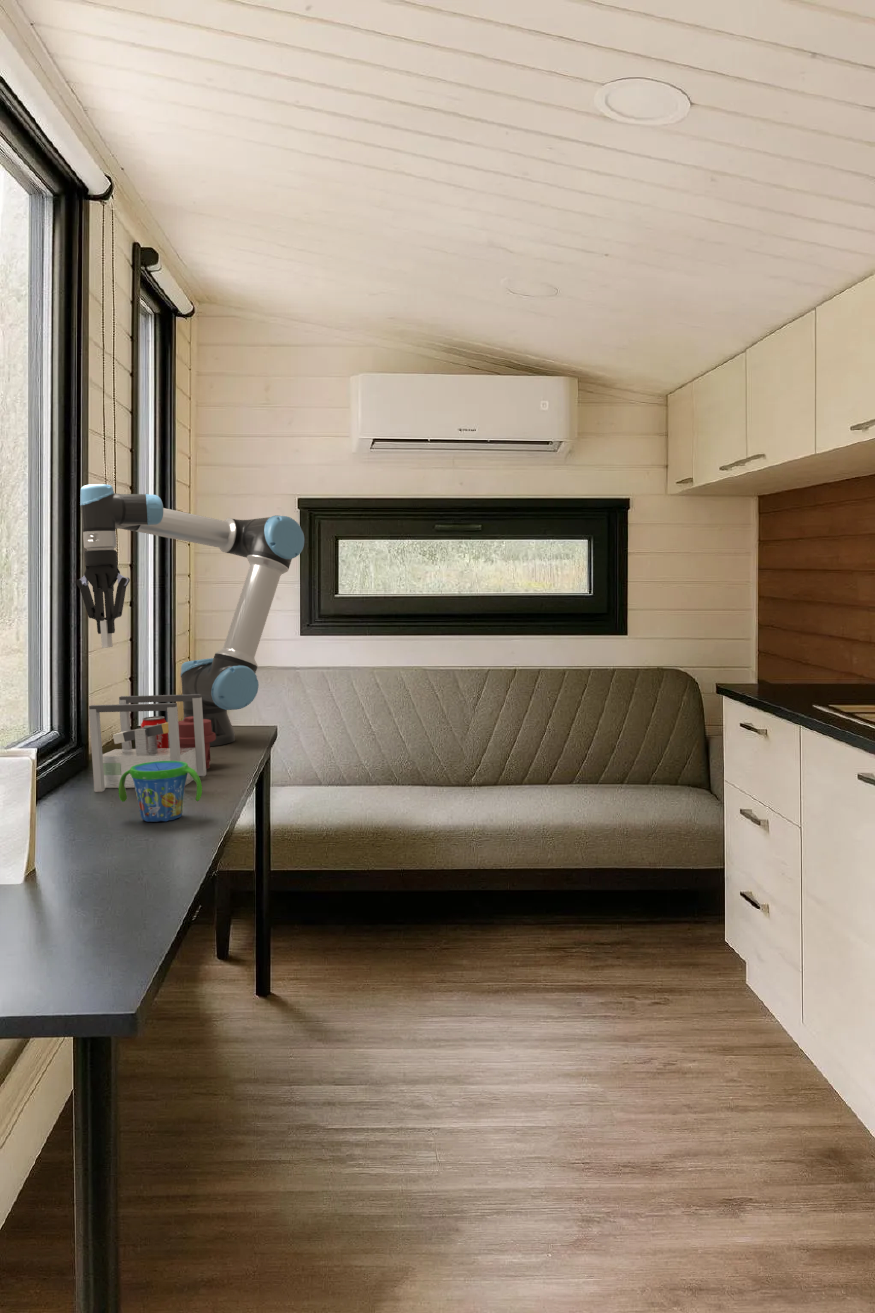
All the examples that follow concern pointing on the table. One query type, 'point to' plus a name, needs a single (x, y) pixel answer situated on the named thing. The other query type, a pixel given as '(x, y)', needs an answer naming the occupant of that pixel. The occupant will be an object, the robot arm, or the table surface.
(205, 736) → the mechanical component
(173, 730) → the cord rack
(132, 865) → the table surface
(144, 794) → the snack cup
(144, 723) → the soda can
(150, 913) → the table surface
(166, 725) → the lever
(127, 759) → the grey box
